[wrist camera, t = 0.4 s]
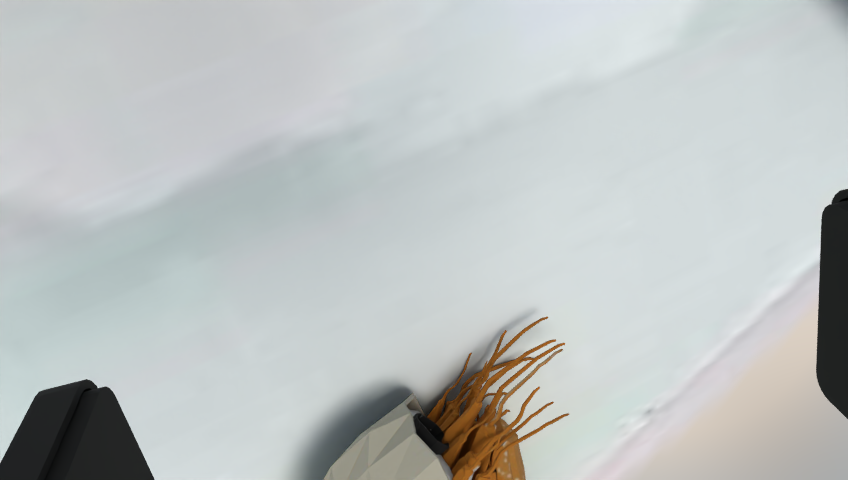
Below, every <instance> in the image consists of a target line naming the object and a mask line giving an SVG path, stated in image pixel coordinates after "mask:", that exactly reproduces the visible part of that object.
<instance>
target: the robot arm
mask: <svg viewBox="0 0 848 480" xmlns="http://www.w3.org/2000/svg"><path fill="white" fill-rule="evenodd" d="M817 338H818V339H817V365H816V373H817V379H818V383H819V386H820V388H821V390H822V392H823V393H824V395H825V397H826V398H827V399H828V400H829V401H830V402H831V403H832V404H833V405H834V406H835V407H836V408H837V409H838V410H839V411H840V412H841V413H842V414H843V415H844V416H845V417H846V418H847V419H848V189H845V190H841V191H839V192H838V193H837V194H836V195H835V196H834V198H833V200H832V204H831V205H828V206H827V207H826V208H825V209H824V211H823V214H822V225H821V253H820V281H819V309H818V337H817ZM0 480H154V477H153V475H152V473H151V471H150V469H149V467H148V465H147V462H146V460H145V458H144V456H143V454H142V452H141V450H140V448H139V445H138V443H137V441H136V439H135V437H134V435H133V433H132V431H131V428H130V426H129V424H128V422H127V420H126V418H125V416H124V414H123V411H122V409H121V407H120V405H119V403H118V401H117V399H116V397H115V395H114V393H113V391H112V390H111V389H110V388H108V387H102V388H97V386H96V385H95V384H94V383H93V382H92V381H90V380H87V379H86V380H82V381H78V382H74V383H70V384H66V385H62V386H58V387H54V388H50V389H46V390H43V391H40V392H39V393H38V394H37V395H36V396H35V398H34V400H33V402H32V404H31V405H30V407H29V409H28V411H27V413H26V415H25V417H24V419H23V421H22V423H21V425H20V427H19V428H18V430H17V432H16V434H15V436H14V438H13V440H12V442H11V444H10V446H9V448H8V450H7V452H6V453H5V455H4V457H3V459H2V461H1V463H0Z"/></svg>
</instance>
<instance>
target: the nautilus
mask: <svg viewBox="0 0 848 480" xmlns="http://www.w3.org/2000/svg"><path fill="white" fill-rule="evenodd" d="M547 318H548V317H545V318H541V319H539V320H538V321H536V322H534V323H532V324H531V325H529V326H528V327H526V328H525V329H523V330H522V331H521V332H520V333H519V334H517V335H516V336H515V337H514V338H513V339H512V340H511V341H510V342H509V343H508V344H507V345H506V346H505V347H504V348H502V349H501V350H500V351H499V352H498V350H499V347H500V345H501V342H502V340H503V337H504V335H505V333H506V332H507V331H506V330H505V332H504V333H503V334H502V335H501V337H500V340H499V342H498V344H497V347H496V349H495V352H494V354H493V355H492V357H491V359H490V361H489V362H488V364H487V362H486V363H485V365H484V368H483V370H482V371H481V372H478V373H476V374H474V375H473V376H471V377H470V378H469V379H468V380H467V381H466V382H465V383H464V384H463V386H462V388H461V391H460V393H459V395H458V396H457V397H456V399H454V400H452V401H447V402H446V405H445V410H444V413H443V415H442V416H441V412H442V409H443V406H444V404H445V399H446V396H447V394H448V393H449V391H450V390H451V389H453V388H454V387H455V386H456V385H457V384H458V383H459V381H460V379H461V378H462V376H463V374H464V372H465V370H466V367H467V364H468V361H469V358H470V355H471V354H472V353H470V354H469V357H468V359H467V362H466V365H465V367H464V370H463V372H462V374H461V375H460V377H459V379H458V380H457V382H456V383H455V385H454V386H453V387H451V388H449V389H448V390H447V391H446V392H445V394H444V396H443V398H442V399H441V400H439V401H438V404H437V405H436V406H435V407H434V408H433V410H432V411H431V412H430V414H429V415H428V416H427V417H426V416H425V414H424V413H423V411H422V409H421V407H420V405H419V403H418V401H417V399H416V397H415V395H414V394H413V393H412V394H411V395H410V396H409V397H408V398H407V399H406V400H405V401H404V402H402V403H401V404H400V405H398V406H397V407H396V408H394V409H393V410H392V411H390V412H389V413H388V414H387V415H385V416H384V417H383V418H381V419H380V420H379V421H377V422H376V423H375V424H373V425H372V426H371V427H369V428H368V429H367V430H365V431H364V432H363V433H361V434H360V435H359V436H358V437H357V438H356V439H355V441H354V442H353V443H352V444H351V445H350V446H349V447H348V448H347V449H346V451H345V452H344V453H343V454H342V455H341V456H340V457H339V458H338V459H337V460H336V462H335V463H334V464H333V465H332V466H331V467H330V469H329V471H328V472H327V474H326V476H325V477H324V479H323V480H526V479H525V471H524V466H523V461H522V457H521V453H520V449H519V443H520V442H521V441H523V440H525V439H527V438H528V437H530V436H532V435H534V434H535V433H537V432H539V431H540V430H542V429H543V428H545V427H546V426H548V425H550V424H552V423H554V422H556V421H558V420H559V419H561V418H563V417H564V416H568V415H569V414H564V415H561V416H559V417H557V418H555V419H553V420H552V421H550V422H547V423H545V424H544V425H542V426H541V427H540V428H538V429H536V430H534V431H532V432H530V433H529V434H527V435H525V436H523V437H521V438H519V439H518V435H517V434H516V432H517V431H518V430H519V429H520V428H522V427H523V426H524V425H525V424H526V423H527V422H528V421H529V420H530V419H531V418H532V417H534V416H536V415H537V414H539V413H540V412H541V411H542V410H543V409H545V408H546V407H547V406H549V405H551V404H553V403H554V402H551V403H548V404H546V405H545V406H543V407H542V408H541V409H539V410H538V411H537V412H535V413H534V414H532V415H530V416H529V417H528V418H527V419H526V420H525V421H524V422H523V423H522V424H520V425H519V426H518V427H517V428H515V429H514V430H512V428H513V427H514V426H515V425H516V424H517V423H518V422H519V421H520V419H521V417H522V416H523V413H524V410H525V407H526V405H527V404H528V402H529V401H530V400H531V398H532V397H533V395H534V394H535V392H536V391H537V390H539V388H540V387H538V388H536V389H535V390H534V391H533V392H532V393H531V394H530V396H529V397H528V398H527V399H526V401H525V402H524V403H523V405H522V407H521V411H520V414H519V415H518V417H517V418H516V419H515V421H513V422H512V423H511V424H510V425H508V424H507V423H506V422H505V421H504V420H502V419H501V417H502V416H503V415H505V414H506V413H507V412H510V410H507V409H506V410H505V411H504V412H503V413H502V409H503V404H504V403H505V402H506V400H507V399H508V398H509V397H510V396H511V395H512V394H513V393H514V392H515V391H516V390H517V389H519V388H520V387H521V386H522V385H523V384H524V383H525V382H526V381H527V380H528V379H529V378H530V377H532V376H533V375H534V374H535V372H536V371H537V370H538V369H539V368H540V367H541V366H543V365H544V364H546V363H547V362H548V361H549V360H550V359H551V358H552V357H554V356H555V355H556V354H557V353H559V352H561V351H562V350H563V349H560V350H558V351H556V352H554V353H553V354H552V355H551V356H549V357H548V358H547V359H546V360H545V361H543V362H542V363H540V364H539V365H538V366H537V367H536V368H535V369H534V370H533V371H532V372H531V373H530V374H529V375H528V376H526V377H525V378H524V379H523V380H522V381H521V382H520V383H518V384H517V385H516V386H515V387H514V388H513V389H512V390H511V391H509V392H508V393H506V392H502V391H503V389H504V388H505V387H506V386H507V385H509V384H510V383H511V382H512V381H513V380H514V379H516V378H517V377H518V376H519V375H520V374H522V373H523V372H524V371H525V370H526V369H528V368H529V367H530V366H531V365H532V364H534V363H535V362H536V361H537V360H538V359H540V358H542V357H543V356H545V355H547V354H548V353H550V352H551V351H553V350H555V349H556V348H558V347H560V346H562V345H565V343H561V344H558V345H556V346H554V347H552V348H551V349H549V350H547V351H545V352H544V353H542V354H540V355H539V356H537V357H535V358H531V357H529V358H524V357H526V356H527V355H529V354H530V353H532V352H534V351H536V350H538V349H540V348H542V347H544V346H546V345H547V344H549V343H552V342H555V341H556V339H555V340H549V341H547V342H545V343H543V344H541V345H539V346H537V347H535V348H533V349H531V350H529V351H527V352H525V353H524V354H523V355H521V356H520V357H518V358H517V359H516V360H512V361H509V362H506V363H503V364H500V365H497V366H494V367H492V366H493V364H494V363H495V361H496V360H497V359H498V358H499V357H500V356H501V355H502V354H503V353H504V352H505V351H506V350H507V349H508V348H509V347H510V346H511V345H512V344H513V343H514V342H515V341H516V340H517V339H518V338H519V337H520V336H521V335H522V334H523V333H525V332H526V331H527V330H529V329H530V328H532V327H533V326H535V325H536V324H537V323H539V322H540V321H542V320H545V319H547ZM497 352H498V353H497ZM523 358H524V359H523ZM527 360H532V361H530V362H529V363H528V364H527V365H526V366H524V367H523V368H522V369H521V370H519V371H518V372H517V373H516V374H515V375H513V376H512V377H511V378H510V379H508V380H507V381H506V382H505V383H504V384H503V385H501V386H500V387H499V389H498V391H497V393H488V394H486V395H485V393H486V391H487V390H488V388H489V387H490V386H491V385H493V384H494V383H495V382H496V381H497V380H498V379H499V378H500V377H502V376H503V375H504V374H505V373H506V372H507V371H509V370H510V369H512V368H513V367H515V366H516V365H518V364H520V363H521V362H523V361H527ZM486 364H487V365H486ZM504 366H506V367H504ZM502 367H504V368H503V369H502V370H500V371H499V372H497V373H496V374H495V375H493V376H492V377H491V378H489V379H488V377H489V372H491V371H494V370H497V369H499V368H502ZM476 377H478V378H477V379H476V380H475V382H474V384H473V385H471V386H469V387H467V385H468V384H469V383H470V382H471V381H472V380H474V379H475V378H476ZM482 377H483V378H482ZM487 379H488V380H487ZM486 380H487V382H486V383H485V385H484V386H483V388H482V384H483V383H484V382H485V381H486ZM466 387H467V388H466ZM481 388H482V389H481ZM469 389H470V391H469V393H468V395H467V396H466V397H465V398H464V399H462V397H463V396H464V394H465V393H466V392H467V391H468V390H469ZM480 389H481V390H480ZM484 395H485V396H484ZM489 395H495V396H494V398H493V400H492V402H491V404H490V405H487V407H486V408H485V411H484V414H483V415H482V416H481V418H479V414H478V413H479V411H480V409H481V407H482V401H483V400H484V398H485V397H487V396H489ZM502 395H505V396H504V398H503V399H502V401H501V402H500V403H499V407H498V411H497V413H496V409H495V407H496V406H497V404H498V402H499V400H500V398H501V396H502ZM483 396H484V397H483ZM467 398H468V399H467ZM461 399H462V400H461ZM466 399H467V402H466V405H465V408H464V411H463V414H462V415H461V416H460V417H459V412H460V405H461V404H462V403H463V402H464V401H465V400H466ZM501 413H502V414H501ZM495 414H496V415H495ZM440 417H441V418H440ZM476 417H477V421H475V419H476Z"/></svg>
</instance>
